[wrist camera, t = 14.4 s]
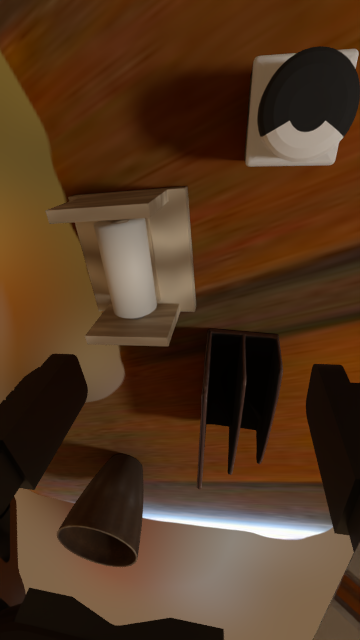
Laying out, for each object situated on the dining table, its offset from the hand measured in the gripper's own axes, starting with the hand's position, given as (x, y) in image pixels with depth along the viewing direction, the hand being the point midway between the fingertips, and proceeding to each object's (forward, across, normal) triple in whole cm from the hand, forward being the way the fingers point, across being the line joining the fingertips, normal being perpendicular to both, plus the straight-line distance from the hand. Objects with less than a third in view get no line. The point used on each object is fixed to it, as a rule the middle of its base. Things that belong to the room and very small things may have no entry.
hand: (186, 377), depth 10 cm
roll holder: (+28, +11, +5) cm, 31 cm away
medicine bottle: (+28, -6, -8) cm, 30 cm away
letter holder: (+28, -2, +27) cm, 39 cm away
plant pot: (+28, +22, +53) cm, 64 cm away
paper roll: (+24, +11, +5) cm, 26 cm away
